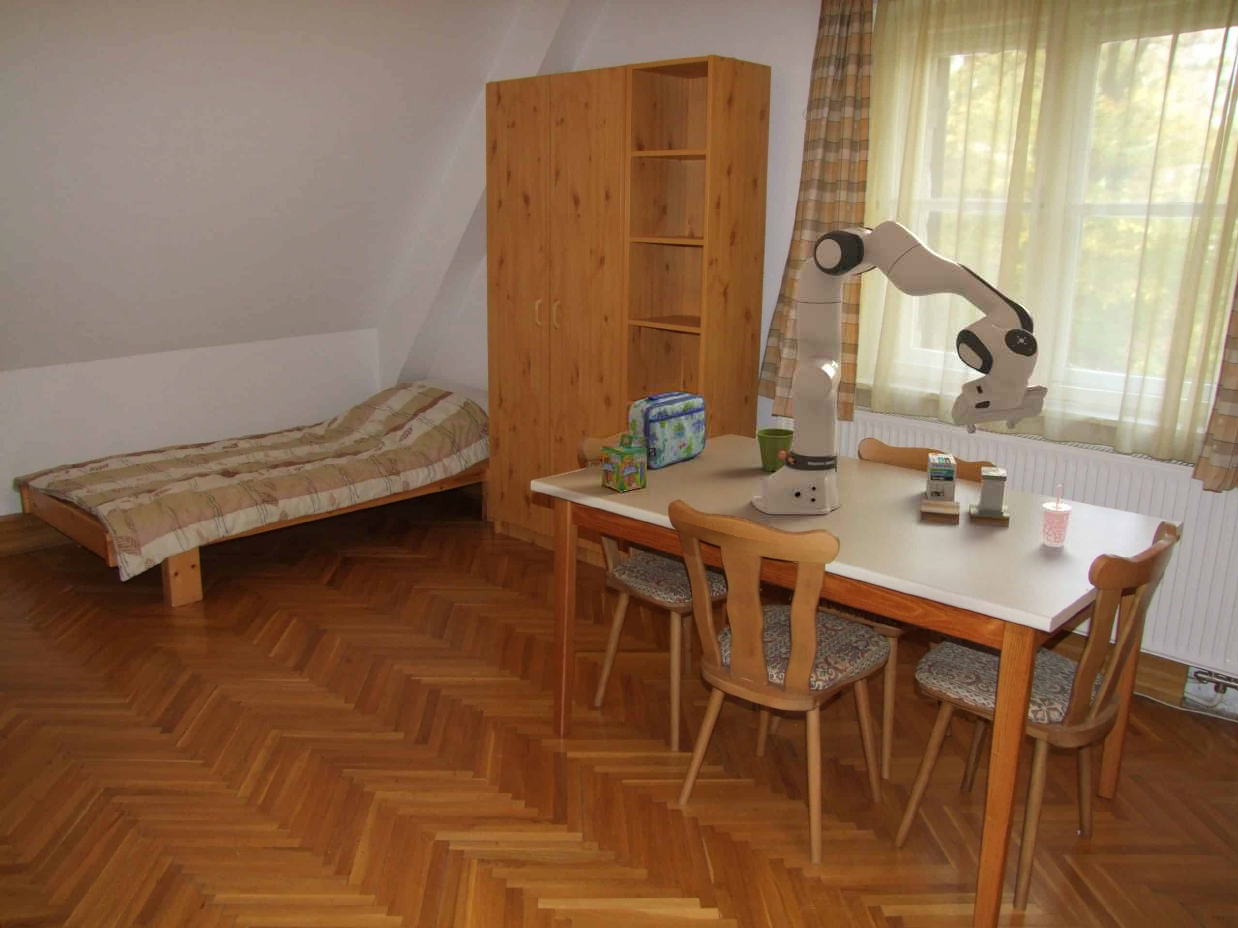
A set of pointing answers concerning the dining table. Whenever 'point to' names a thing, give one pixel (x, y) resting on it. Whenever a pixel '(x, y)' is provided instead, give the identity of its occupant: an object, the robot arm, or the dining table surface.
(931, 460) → the light bulb box
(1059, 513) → the beverage cup
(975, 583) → the dining table surface
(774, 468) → the plant pot
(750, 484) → the dining table surface
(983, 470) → the housing
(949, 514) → the stand
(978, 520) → the stand
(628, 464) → the chalk box
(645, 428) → the lunch box
